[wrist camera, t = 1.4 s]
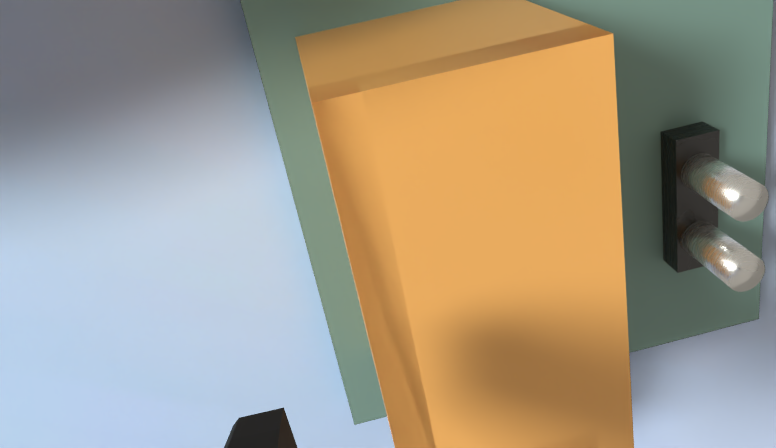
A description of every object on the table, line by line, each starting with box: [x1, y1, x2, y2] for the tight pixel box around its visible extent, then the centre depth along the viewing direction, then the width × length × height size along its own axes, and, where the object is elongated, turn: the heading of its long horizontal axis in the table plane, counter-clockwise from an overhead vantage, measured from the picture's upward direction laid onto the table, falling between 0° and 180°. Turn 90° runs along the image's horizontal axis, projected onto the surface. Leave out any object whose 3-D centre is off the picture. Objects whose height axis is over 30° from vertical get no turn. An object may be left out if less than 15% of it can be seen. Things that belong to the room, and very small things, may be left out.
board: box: [240, 0, 773, 425], centre depth 18 cm, size 20×13×1 cm, turn 11°
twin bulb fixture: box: [660, 121, 769, 292], centre depth 19 cm, size 4×1×3 cm, turn 11°
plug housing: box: [295, 0, 634, 448], centre depth 17 cm, size 12×5×6 cm, turn 11°
